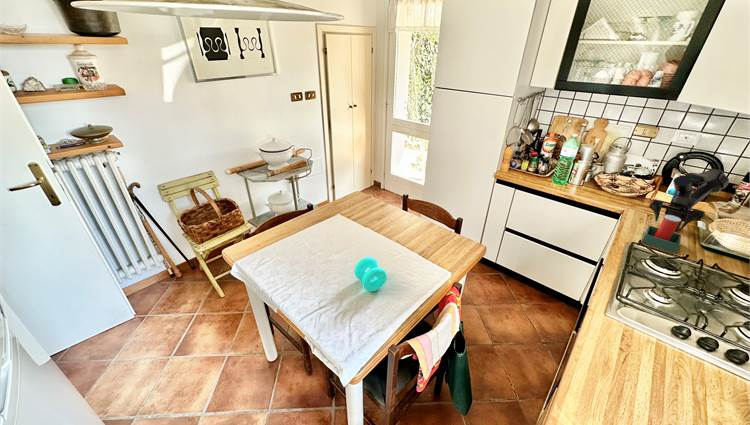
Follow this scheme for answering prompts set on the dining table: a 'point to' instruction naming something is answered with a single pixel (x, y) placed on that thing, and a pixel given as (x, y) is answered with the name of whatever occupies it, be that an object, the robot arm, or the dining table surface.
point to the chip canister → (667, 227)
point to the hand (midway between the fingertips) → (668, 225)
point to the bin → (661, 240)
